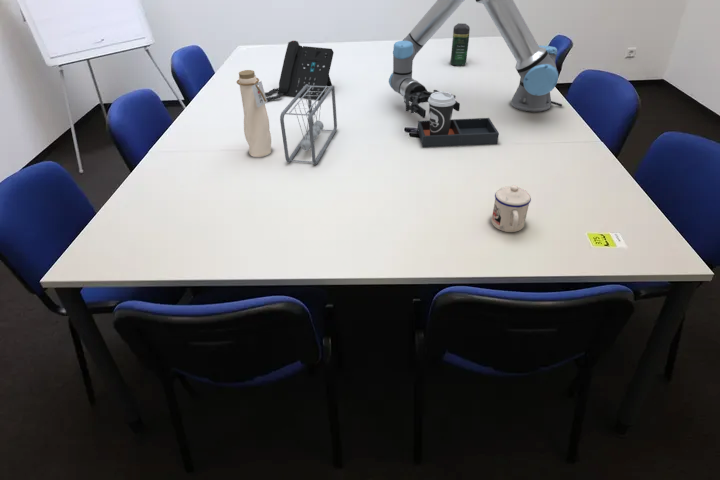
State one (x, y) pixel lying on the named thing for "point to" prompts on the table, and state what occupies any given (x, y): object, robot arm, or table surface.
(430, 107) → the coffee cup
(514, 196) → the teacup with lid
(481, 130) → the divided storage tray
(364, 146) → the table surface
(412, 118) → the table surface
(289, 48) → the office phone
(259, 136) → the water bottle
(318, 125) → the newton's cradle
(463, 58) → the green shampoo bottle
